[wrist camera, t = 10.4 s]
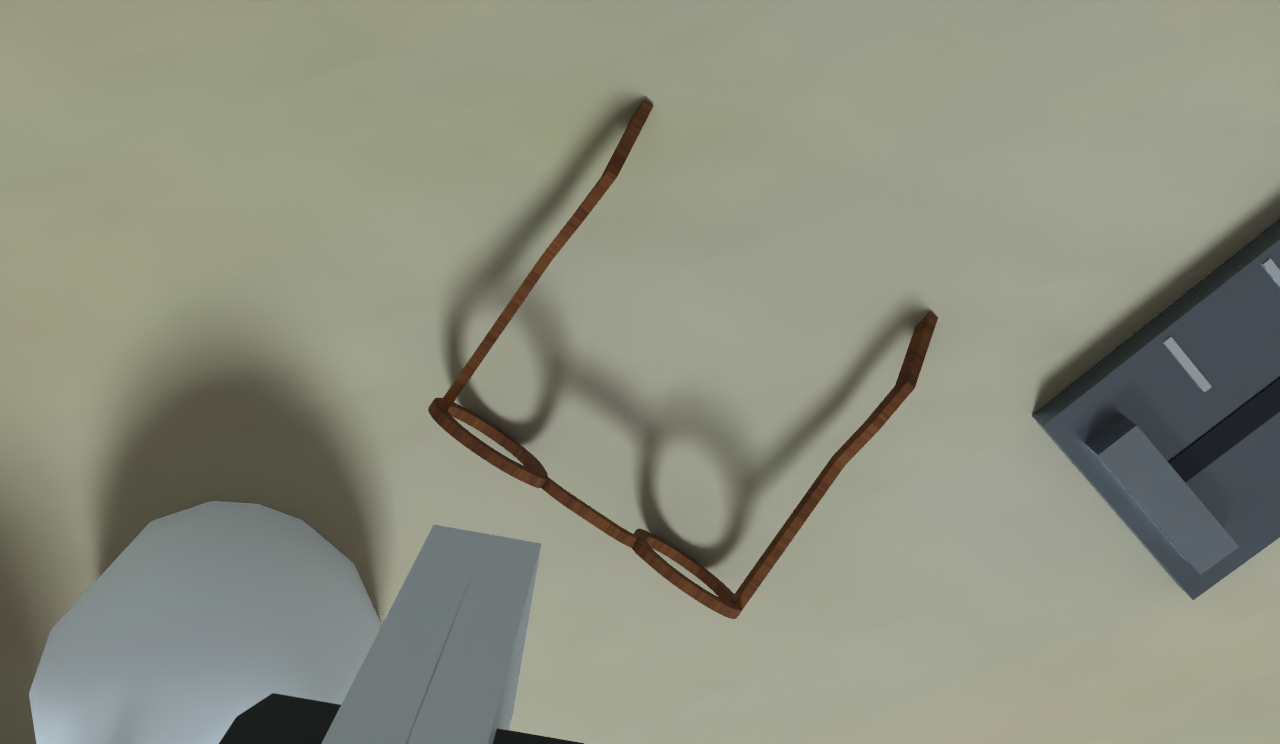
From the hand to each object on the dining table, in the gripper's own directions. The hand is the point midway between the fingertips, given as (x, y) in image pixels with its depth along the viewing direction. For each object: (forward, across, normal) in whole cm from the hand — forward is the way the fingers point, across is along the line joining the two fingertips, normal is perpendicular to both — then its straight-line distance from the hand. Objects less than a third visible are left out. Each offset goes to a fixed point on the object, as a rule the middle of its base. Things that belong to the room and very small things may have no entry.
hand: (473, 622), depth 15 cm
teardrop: (+24, -11, -16) cm, 31 cm away
